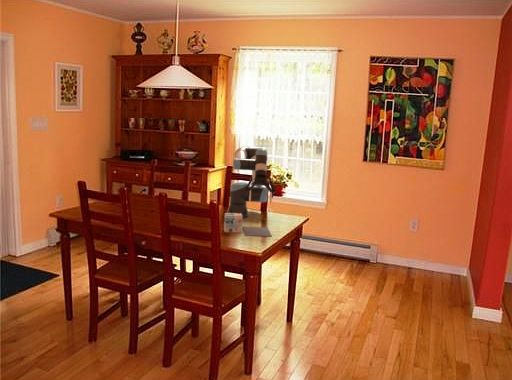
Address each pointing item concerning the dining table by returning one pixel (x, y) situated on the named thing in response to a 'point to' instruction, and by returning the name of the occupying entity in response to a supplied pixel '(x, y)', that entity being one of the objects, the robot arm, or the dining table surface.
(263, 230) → the mat
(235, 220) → the light bulb box
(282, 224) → the dining table surface
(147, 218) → the dining table surface
